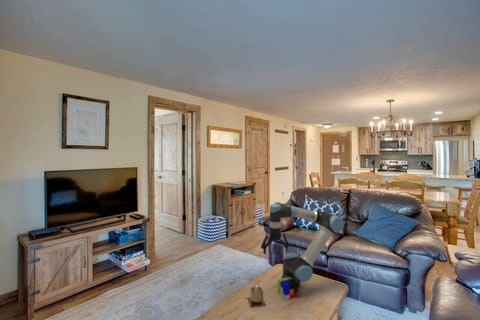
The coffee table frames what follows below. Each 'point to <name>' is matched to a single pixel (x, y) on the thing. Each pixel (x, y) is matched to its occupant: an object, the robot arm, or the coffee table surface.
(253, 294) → the ring
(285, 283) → the puzzle toy
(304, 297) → the coffee table surface
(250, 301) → the peg on square base
